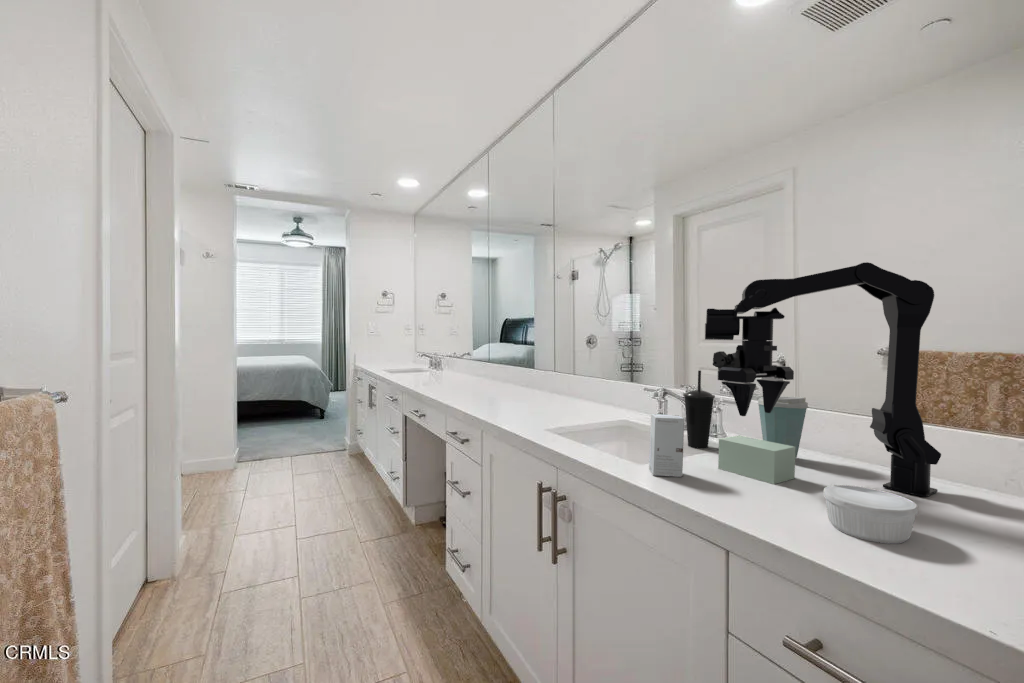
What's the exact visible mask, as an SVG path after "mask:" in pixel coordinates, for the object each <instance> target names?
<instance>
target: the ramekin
mask: <svg viewBox="0 0 1024 683" xmlns="http://www.w3.org/2000/svg"><path fill="white" fill-rule="evenodd" d="M823 497H824V498H825V500H824V501H825V507H826V513H827V519H828V521H829V523H830V524H831V525H832V526H833V527H834V528H835V529H837V530H838V531H840V532H842V533H844V534H846V535H849V536H852V537H855V538H857V539H861V540H864V541H869V542H875V543H879V542H880V543H879V544H890V543H891V544H901V543H905V542H906V541H907V540H909V539H910V537H911V535H912V533H913V528H914V524H915V519H916V515H918V514H919V506H918V504H917V503H916V502H915V501H912V500H911V499H908V498H907V497H904V496H900V495H899V494H895V493H892V492H888V491H883V490H880V489H875V488H870V487H866V486H858V485H850V484H849V485H847V484H846V485H845V484H831V485H828V486H825V487H824V488H823Z"/></svg>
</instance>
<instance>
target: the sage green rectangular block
mask: <svg viewBox="0 0 1024 683" xmlns="http://www.w3.org/2000/svg"><path fill="white" fill-rule="evenodd" d="M717 459H718V460H717V461H718V463H717V465H718V467H717V469H718V470H722V471H726V472H730V473H733V474H736V475H739V476H742V477H743V476H744V477H746V478H750V479H754V480H757V481H761V482H763V483H764V482H765V483H768V484H771V485H776V484H780V483H784V482H787V481H791V480H795V479H796V475H795V473H796V470H795V469H796V459H795V447H794V446H789V445H784V444H779V443H774V442H769V441H765V440H763V439H759V438H754V437H749V436H744V435H741V434H740V435H735V436H734V435H733V436H729V437H723V438H718V458H717Z"/></svg>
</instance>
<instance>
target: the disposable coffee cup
mask: <svg viewBox="0 0 1024 683" xmlns="http://www.w3.org/2000/svg"><path fill="white" fill-rule="evenodd" d="M757 404H758V411H759V413H758V414H759V420H760V427H761V434H762V440H765V441H769V442H774V443H779V444H784V445H789V446H794V447H795V460H796V458H798V455H799V454H798V453H799V448H800V444H801V438H802V433H803V428H804V423H805V419H806V414H807V409H809V406H808V405H809V403H808V402H807V401H806V397H804V396H780V397H779V399H778V401H777V402H776V404H775V406H774V408H773V409H772V411H771V413H766V412H765V411H764V403H763V396H760V398H758V400H757Z"/></svg>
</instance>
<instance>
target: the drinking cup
mask: <svg viewBox="0 0 1024 683" xmlns="http://www.w3.org/2000/svg"><path fill="white" fill-rule="evenodd" d="M701 378H702V371H701V370H698V371H697V389H693V390H690V391H687V392H686V393H683V396H684V406H685V407H684V408H685V424H686V436H687V446H688V447H689V448H693V449H699V450H701V449H702V450H704V449H708V447H709V441H710V432H711V431H710V430H711V424H712V418H713V417H712V415H713V408H714V399H715V398H716V396H715V394H712V393H710V392H708V391H705V390H702V389H701V387H702V384H701V382H702V381H701V380H702V379H701Z"/></svg>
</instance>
